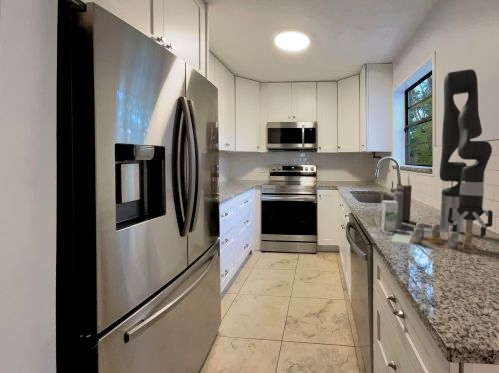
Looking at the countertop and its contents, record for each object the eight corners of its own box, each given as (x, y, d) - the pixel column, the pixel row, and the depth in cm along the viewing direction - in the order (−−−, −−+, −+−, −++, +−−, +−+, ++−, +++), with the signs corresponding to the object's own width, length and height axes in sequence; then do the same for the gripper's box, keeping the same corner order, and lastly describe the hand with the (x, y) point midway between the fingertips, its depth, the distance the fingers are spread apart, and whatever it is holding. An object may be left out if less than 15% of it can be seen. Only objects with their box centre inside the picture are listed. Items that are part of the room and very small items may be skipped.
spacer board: (473, 244, 132) (475, 227, 131) (477, 255, 118) (478, 236, 117) (412, 237, 143) (412, 221, 143) (408, 245, 129) (409, 228, 128)
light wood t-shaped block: (471, 244, 128) (473, 218, 127) (473, 249, 122) (475, 221, 121) (462, 243, 129) (464, 217, 128) (463, 247, 123) (465, 220, 122)
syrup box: (392, 229, 159) (393, 200, 158) (396, 232, 153) (398, 201, 152) (380, 229, 159) (381, 199, 158) (384, 231, 154) (385, 201, 152)
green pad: (411, 237, 143) (412, 235, 143) (408, 245, 129) (408, 243, 129) (395, 235, 146) (396, 233, 146) (390, 243, 132) (390, 241, 132)
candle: (408, 222, 176) (410, 186, 174) (394, 221, 180) (396, 185, 178) (410, 220, 183) (412, 185, 181) (396, 219, 186) (398, 184, 185)
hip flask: (392, 222, 176) (394, 185, 174) (400, 223, 175) (402, 186, 173) (394, 228, 161) (396, 188, 159) (403, 229, 160) (405, 188, 158)
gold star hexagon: (438, 241, 133) (438, 236, 133) (444, 243, 129) (444, 238, 129) (425, 240, 133) (426, 236, 133) (431, 243, 129) (432, 238, 129)
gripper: (493, 194, 123) (490, 236, 125) (449, 191, 131) (446, 231, 132) (495, 195, 117) (492, 240, 118) (449, 193, 124) (446, 235, 126)
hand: (468, 235), depth 125 cm, fingers open, 8 cm apart
